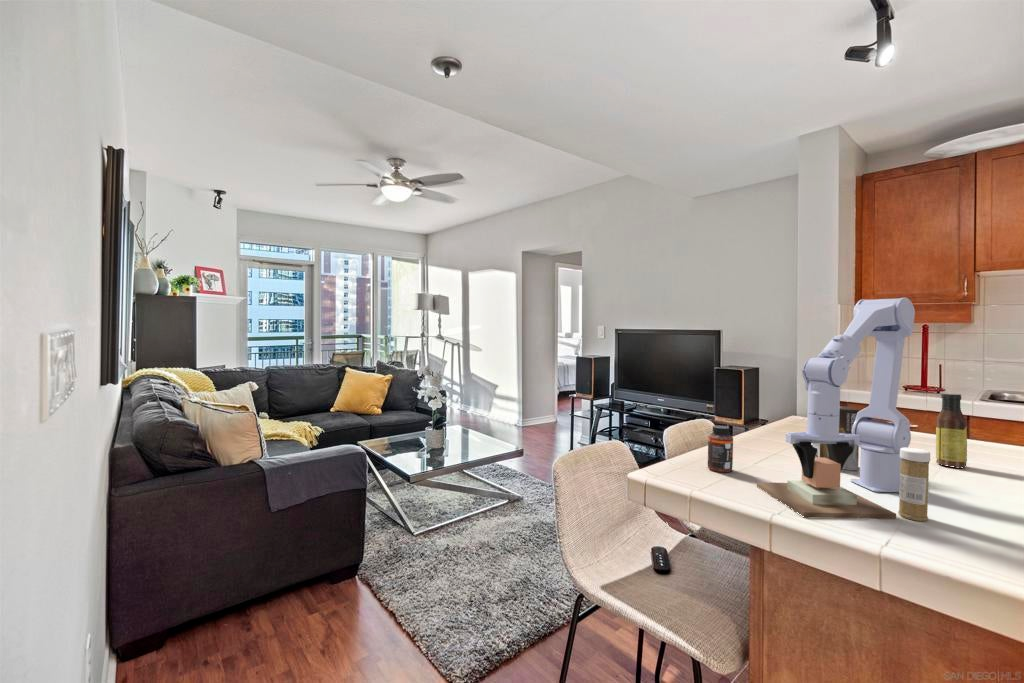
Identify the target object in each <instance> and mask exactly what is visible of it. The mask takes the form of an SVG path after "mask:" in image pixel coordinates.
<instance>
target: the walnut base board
mask: <svg viewBox="0 0 1024 683" xmlns="http://www.w3.org/2000/svg"><path fill="white" fill-rule="evenodd" d="M756 487H757V488H758V487H759V488H758V489H760V488H761V489H762V490H761V489H760V490H761V491H763V490H764V491H765V492H764V491H763V492H764V493H766V492H767V493H768V494H767V493H766V494H767V495H769V494H770V495H771V497H772V496H773V497H775V498H776V499H778V500H779V501H781V502H782V503H784V504H786V505H787V506H789V507H790V508H792V509H793V510H795V511H796V512H798V513H799V514H801V515H802V516H804V517H803V518H808V517H833V518H832V519H876V520H877V519H878V520H879V519H880V520H881V519H883V520H884V519H885V520H886V519H887V520H896V519H897V513H896V512H893V511H892V510H889V509H887V508H885V507H883V506H881V505H879V504H877V503H875V502H873V501H872V500H869V499H867V498H865V497H863V496H860V495H858V494H857V493H854V492H852V491H851V490H849V489H847V488H844V487H842V486H840V488H816V487H814V486H812V485H810V484H808V483H807V482H805V481H803V480H791V479H789V480H787V482H766V481H765V482H763V481H762V482H760V481H759V482H758V481H756ZM770 495H769V496H770ZM773 497H772V498H773ZM775 498H774V499H775ZM776 499H775V500H776ZM778 500H777V501H778ZM779 501H778V502H779ZM781 502H780V503H781ZM782 503H781V504H782ZM784 504H783V505H784ZM787 506H786V507H787ZM790 508H789V509H790ZM792 509H791V510H792ZM793 510H792V511H793ZM795 511H794V512H795ZM796 512H795V513H796ZM798 513H797V514H798ZM799 514H798V515H799ZM801 515H800V516H801ZM802 516H801V517H802Z"/></svg>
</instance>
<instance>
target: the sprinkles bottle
mask: <svg viewBox="0 0 1024 683" xmlns="http://www.w3.org/2000/svg"><path fill="white" fill-rule="evenodd" d="M900 457H901V458H900V459H901V472H900V490H899V492H898V493H899V494H898V495H899V496H898V498H899V503H898V505H899V506H898V509H899V510H898V512H897V513H898V515H899V516H901V517H902V518H905V519H908V520H911V521H917V522H925V521H928V519H929V516H928V506H929V493H930V491H929V489H930V488H929V482H930V481H929V476H930V475H929V473H930V472H929V468H930V466H929V465H930V462H931V452H930V451H928V450H926V449H922V448H917V447H909V446H908V447H904V448H901V449H900Z"/></svg>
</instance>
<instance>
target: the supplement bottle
mask: <svg viewBox="0 0 1024 683" xmlns="http://www.w3.org/2000/svg"><path fill="white" fill-rule="evenodd" d="M711 431H712V433H709V434H708V442H707V469H709V470H710V471H713V472H716V473H730V472H732V470H733V466H734V465H733V464H734V462H733V460H734V436H732V435H731V434H730V427H729V426H727V425H717V424H716V425H712V430H711Z"/></svg>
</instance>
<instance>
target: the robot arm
mask: <svg viewBox="0 0 1024 683" xmlns="http://www.w3.org/2000/svg"><path fill="white" fill-rule="evenodd" d="M915 314H916V310H915V307H914V305H913V302H912V301H911V300H910V299H909V298H908V297H901V298H880V299H879V298H878V299H863V298H862V299H860V300H858V301H857V303H856V304H855V305H854V307H853V319H852V320H851V321H850V323H849V325H848V326H847V328H846V329H845V331H844V332H843V334H837V335H834V336H833V337H832V338H831V339H830V341H829V342H828V343H827V344H826V346H825V347H824V348H823V349H822V351H821V352H819V354H818V355H817V357H816V356H814V357H811V358H809V359H807V360H806V361H805V362H804V365H803V369H801V370H802V371H801V373H802V378H803V380H804V383H805V384H804V386H805V390H806V391H807V410H806V411H807V412H806V413H807V417H806V418H807V420H806V431H801V432H800V431H799V432H798V431H797V432H785V442H786V443H788V444H790V445H792V447H793V448H794V451H795V453H796V454H797V456H798V460H799V462H800V465H801V471H802V470H803V475H804V476H805V477H807V478H812V477H813V472H814V460H815V456H816V453H817V450H818V449H817V448H814V447H813V443H818V444H827V448H828V454H829V459H830V460H832V461H835V462H837V463H839V464H841V472H840V475H841V474H842V470H843V469H842V468H843V466H844V464H845V462H846V460H847V459H848V457H849V456H850V455H851V453H852V452H853V447H852V446H849V444H854V445H858V447H859V448H860V458H859V460H860V461H859V462H860V463H859V465H860V466H859V478H851V479H850V482H852V483H854V484H857V485H858V486H861V487H863V488H864V489H867V490H870V491H872V492H874V493H899V490H900V472H901V459H900V458H901V457H900V449H901V448H904V447H909V446H910V444H911V441H912V433H911V429H910V427H911V426H910V425H911V423H910V420H909V418H908V417H906V416H905V415H904V414H903V413H901V411H899V410H898V409H897V403H898V396H899V389H900V388H899V387H900V380H901V371H902V365H903V354H904V347H905V340H906V338H907V337H909V336H910V337H911V336H912V335H913V334H912V333H913V329H914V324H915V323H914V321H915ZM867 336H872V337H874V339H875V340H876V349H875V357H874V364H873V372H872V373H873V374H872V380H871V390H870V398H869V402H868V403H869V404H868V406H867V407H865V408H863V409H861V410H859V412H857V415H856V419H855V422H854V424H853V426H852V434H844V433H839V413H840V406H841V386H842V385H843V384H845V383H846V382H847V379H848V376H849V371H850V368H851V367H850V366H851V364H852V363H853V362H854V360H855V359H856V358H857V357H858V356H859V354H860V353H861V350H862V347H861V344H860V343H861V342H862V341H864V340H865V339H866V338H867ZM874 419H878V420H874ZM879 419H880V420H879ZM882 420H886V421H882ZM887 421H890V422H887ZM816 440H818V441H816Z"/></svg>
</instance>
